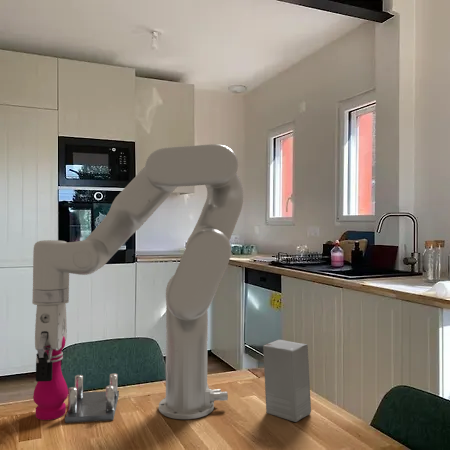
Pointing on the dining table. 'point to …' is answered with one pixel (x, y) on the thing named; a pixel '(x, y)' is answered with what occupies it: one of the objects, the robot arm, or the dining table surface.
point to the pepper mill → (52, 390)
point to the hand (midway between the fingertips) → (49, 373)
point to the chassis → (92, 402)
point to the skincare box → (287, 379)
